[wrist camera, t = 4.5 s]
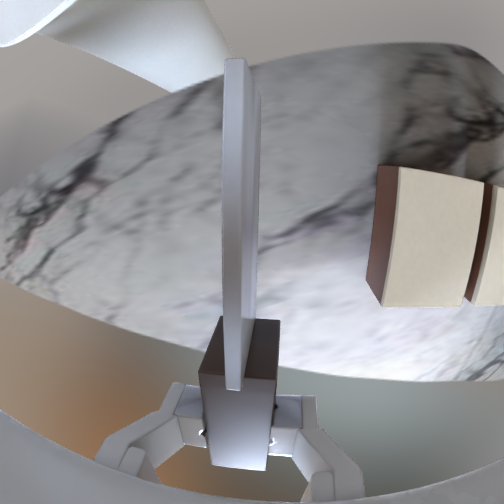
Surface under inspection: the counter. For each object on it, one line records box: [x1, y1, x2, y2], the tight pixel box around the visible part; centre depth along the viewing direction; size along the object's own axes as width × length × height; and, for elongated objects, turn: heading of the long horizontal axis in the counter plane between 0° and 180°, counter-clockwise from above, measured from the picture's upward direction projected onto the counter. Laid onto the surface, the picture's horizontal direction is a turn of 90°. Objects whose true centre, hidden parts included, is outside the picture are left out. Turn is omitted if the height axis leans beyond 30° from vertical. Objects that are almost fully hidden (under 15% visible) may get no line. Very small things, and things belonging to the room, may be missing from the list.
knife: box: [198, 58, 280, 471], centre depth 8 cm, size 13×2×4 cm, turn 179°
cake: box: [366, 165, 484, 308], centre depth 15 cm, size 8×6×4 cm
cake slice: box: [464, 183, 504, 306], centre depth 14 cm, size 8×3×4 cm, turn 179°
